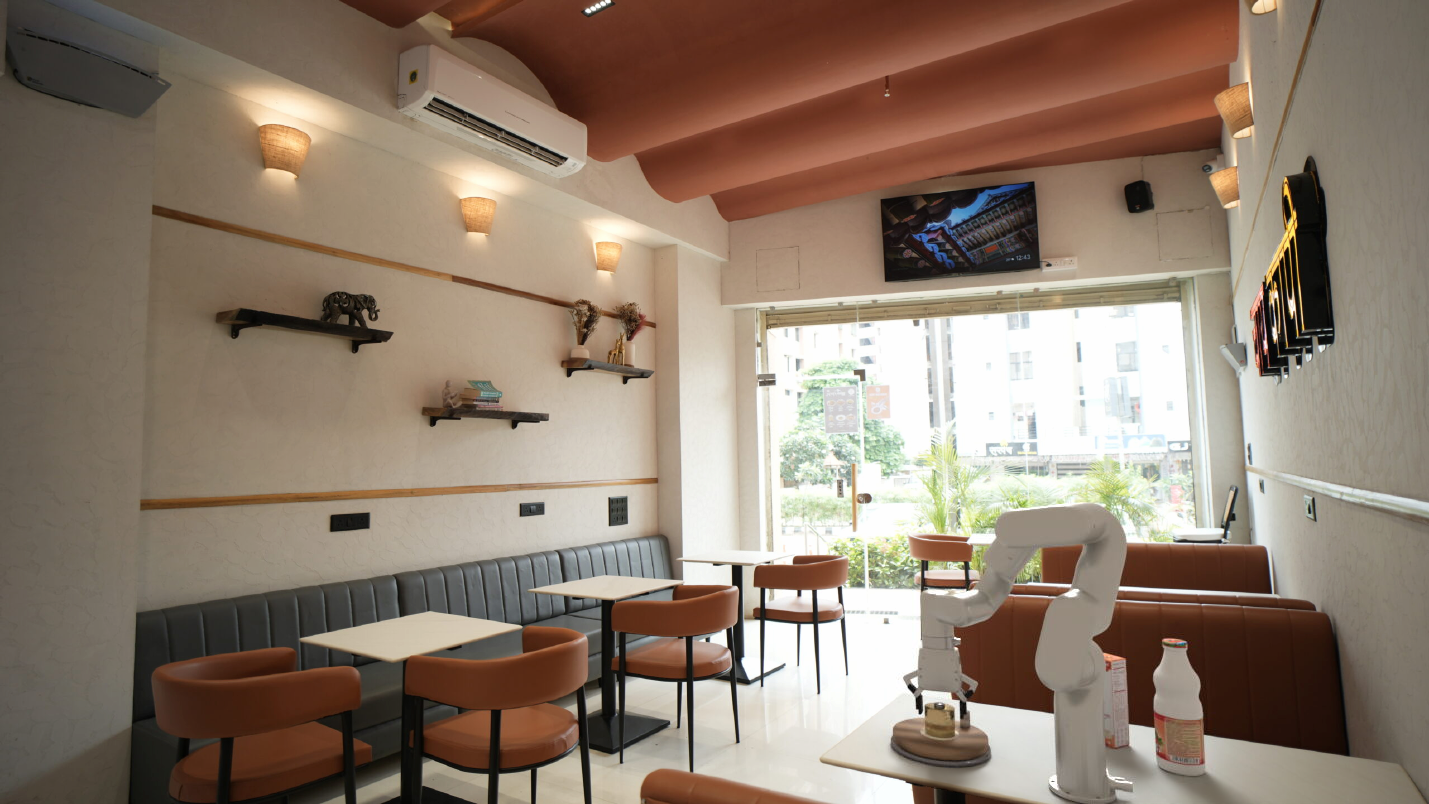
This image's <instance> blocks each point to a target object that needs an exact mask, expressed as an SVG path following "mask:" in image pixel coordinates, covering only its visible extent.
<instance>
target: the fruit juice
mask: <svg viewBox="0 0 1429 804" xmlns="http://www.w3.org/2000/svg"><path fill="white" fill-rule="evenodd" d="M1161 645H1162V648H1163V654H1162V658H1161V661H1160V663H1159V665H1158V666H1157V667H1156V668H1155V670H1154V672H1153V677H1152V682H1153V684H1154V687H1155V694H1154V697H1153V717H1154V718H1153V719H1154V736H1155V737H1154V738H1155V739H1154V740H1155V741H1154V742H1155V759H1156V763H1157V765H1158V766H1159V768H1161V769H1163V770H1164V771H1167V772H1170V773H1172V774H1175V775H1181V776H1186V777H1187V776H1188V777H1197V776H1198V777H1199V776H1202V775H1204V774H1205V773H1206V753H1205V752H1206V751H1205V737H1204V736H1205V735H1204V734H1205V732H1204V712H1203V706H1202V702H1201V701H1200V698H1199V696H1200V695H1199V694H1200V691H1201V686H1202V685H1201V681H1200V677H1199V676H1198V674H1197V673H1196V672H1195V670H1194V668H1193V667H1192V665H1191V663H1190V660H1189V658H1188V655H1187V650H1188V648H1189V647H1188V642H1187V641H1185V640H1183V639H1179V638H1178V639H1177V638H1163V639H1162V641H1161Z"/></svg>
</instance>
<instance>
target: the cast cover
mask: <svg viewBox="0 0 1429 804" xmlns="http://www.w3.org/2000/svg"><path fill="white" fill-rule="evenodd" d="M955 709H956V708H955V707H954V706H953V705H951V704H949V703H945V702H941V701H937V702H928V703H925V704H924V705H923V710H924V718H925V733H926V734H927V735H929V736H932V737H936V738H952V737H954V736H955V721H956V710H955Z"/></svg>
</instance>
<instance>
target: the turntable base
mask: <svg viewBox="0 0 1429 804" xmlns="http://www.w3.org/2000/svg"><path fill="white" fill-rule="evenodd" d="M988 745H989V743H988ZM890 746H891V748H892V749H893V751H894V752H895V753H896V754H898V755H900V756H901V757H903V758H905V759H907V760H910V761H912V762H916V763H919V764H923V765H925V766H926V765H927V766H932V767H937V768H938V767H939V768H950V769H951V768H955V769H956V768H959V769H960V768H969V767H976V766H979V765H982V764H984V763H987V761H989V760H990V759H991V756H992V748H991V745H989V748H988V751H987V753H985V754H984V755H982V756H980V757H977V758H973V759H967V760H940V759H933V758H927V757H923V756H919V755H916V754H913V753H910V752H908V751H905V750H903V749H902V748H900V747H899V746H897V745H896V744H895V742H894V741H893V734H892V735H891V738H890Z"/></svg>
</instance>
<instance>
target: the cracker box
mask: <svg viewBox="0 0 1429 804" xmlns="http://www.w3.org/2000/svg"><path fill="white" fill-rule="evenodd" d="M1103 654H1104V657H1105V662H1106V677H1105V687H1104V723H1105V747H1109V748H1111V749H1119V748H1122V747H1126V746H1129V745H1130V723H1129V719H1130V718H1129V702H1128V701H1129V700H1128V698H1129V697H1128V695H1129V694H1128V680H1127V679H1128V678H1127V675H1128V674H1127V659H1126V658H1124V657H1121V656H1117V655H1113V654H1110V653H1106V652H1103Z"/></svg>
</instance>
